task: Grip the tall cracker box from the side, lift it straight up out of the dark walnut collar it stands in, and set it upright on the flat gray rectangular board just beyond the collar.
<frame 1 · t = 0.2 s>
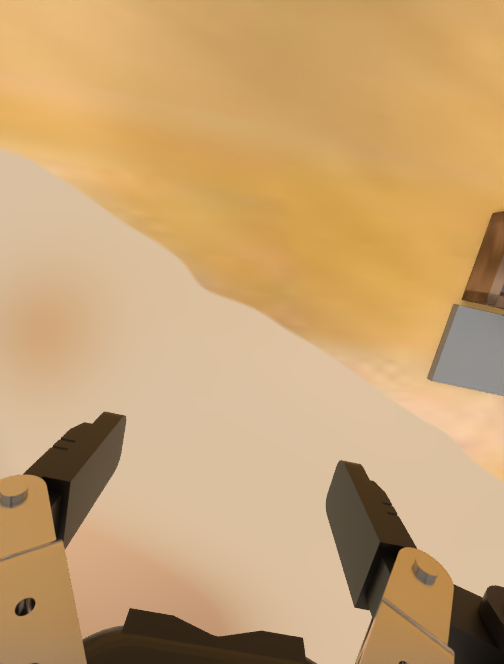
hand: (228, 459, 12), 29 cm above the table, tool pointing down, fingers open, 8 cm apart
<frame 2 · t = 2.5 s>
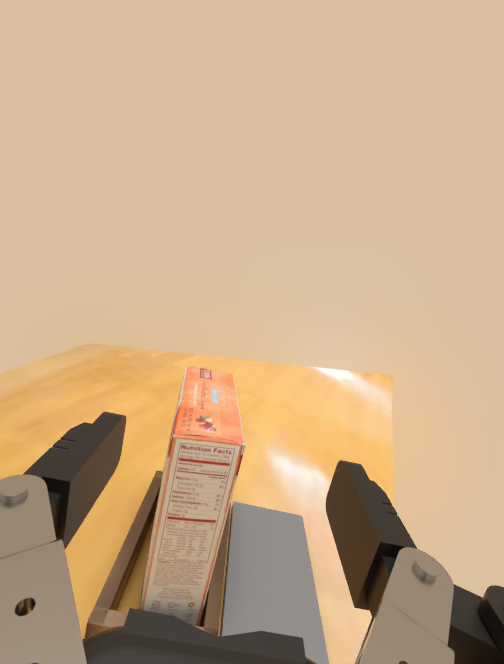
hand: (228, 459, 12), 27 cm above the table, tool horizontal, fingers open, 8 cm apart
flat gray rectangular board: (269, 584, 36), on the table
cracker box: (172, 567, 35), resting in walnut collar
walnut collar: (172, 565, 35), on the table
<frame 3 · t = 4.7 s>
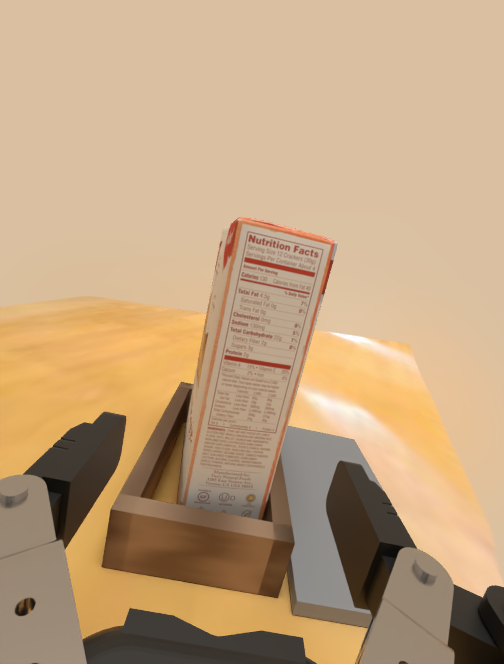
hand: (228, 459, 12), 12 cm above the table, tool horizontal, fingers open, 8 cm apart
flat gray rectangular board: (332, 501, 28), on the table
cracker box: (209, 479, 28), resting in walnut collar
walnut collar: (210, 477, 28), on the table
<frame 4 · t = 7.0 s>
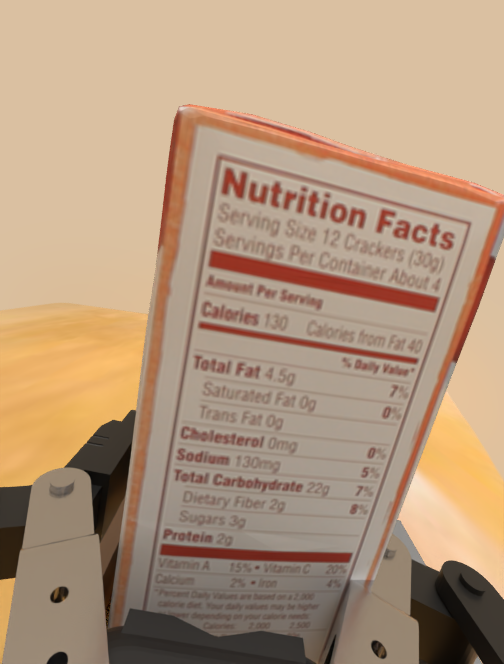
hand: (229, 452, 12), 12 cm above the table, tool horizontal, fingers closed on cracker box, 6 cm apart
cracker box: (178, 641, 16), resting in walnut collar, touching gripper
walnut collar: (180, 638, 16), on the table
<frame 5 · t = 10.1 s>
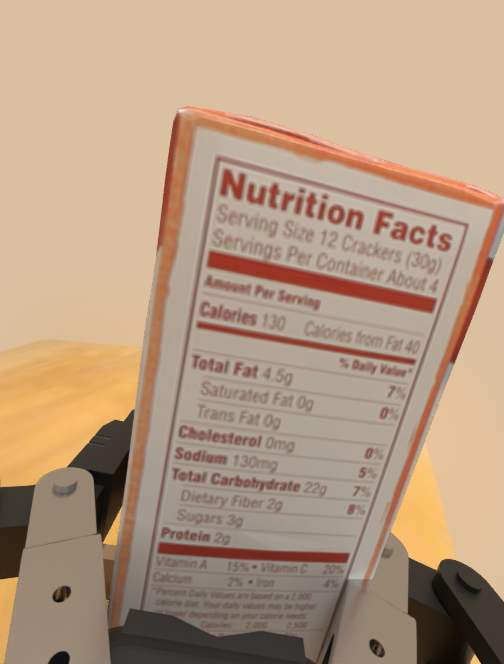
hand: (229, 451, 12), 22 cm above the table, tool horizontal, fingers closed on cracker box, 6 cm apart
cracker box: (177, 641, 16), point 10 cm above the table, touching gripper
when the fingers open (14 cm above the table, at t = 13.2 s): cracker box stays where it is, resting on flat gray rectangular board.
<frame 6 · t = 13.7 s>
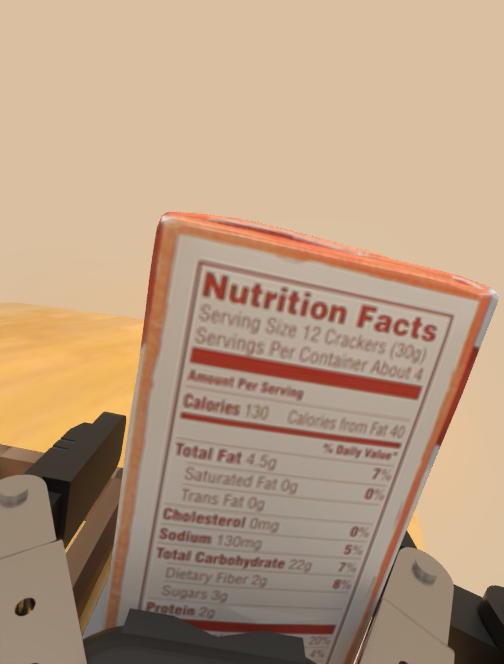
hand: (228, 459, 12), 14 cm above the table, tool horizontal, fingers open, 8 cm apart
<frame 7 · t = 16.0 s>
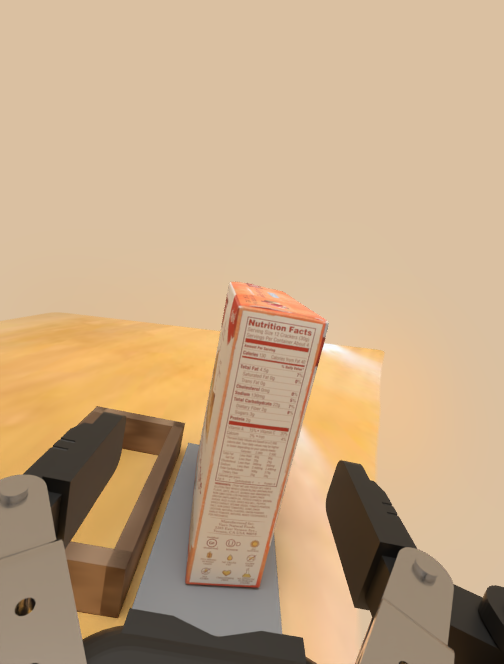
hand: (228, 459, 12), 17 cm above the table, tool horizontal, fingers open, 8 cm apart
flat gray rectangular board: (218, 521, 30), on the table
cracker box: (218, 516, 30), point 1 cm above the table, touching flat gray rectangular board
walnut collar: (102, 500, 30), on the table
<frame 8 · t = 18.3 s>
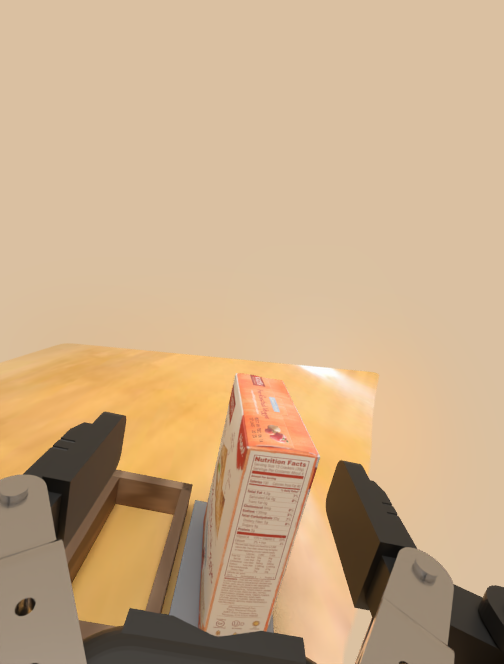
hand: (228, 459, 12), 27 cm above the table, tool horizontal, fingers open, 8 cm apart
flat gray rectangular board: (223, 584, 35), on the table
cracker box: (223, 581, 34), point 1 cm above the table, touching flat gray rectangular board
walnut collar: (122, 566, 34), on the table
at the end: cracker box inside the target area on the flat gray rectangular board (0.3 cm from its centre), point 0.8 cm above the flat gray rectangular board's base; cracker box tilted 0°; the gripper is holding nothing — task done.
